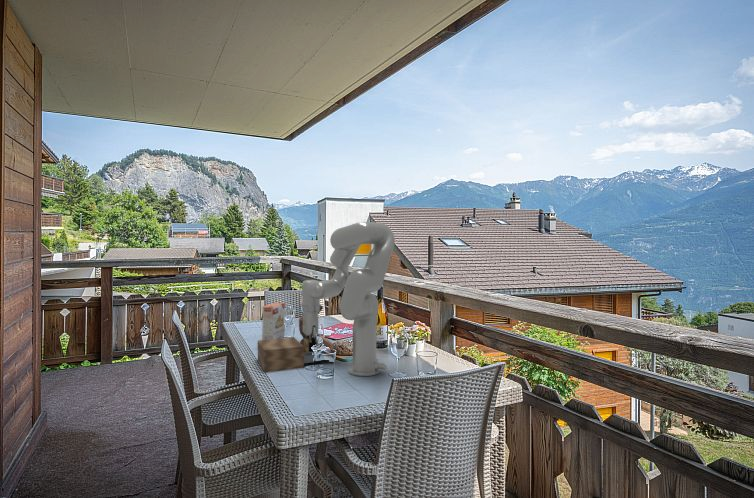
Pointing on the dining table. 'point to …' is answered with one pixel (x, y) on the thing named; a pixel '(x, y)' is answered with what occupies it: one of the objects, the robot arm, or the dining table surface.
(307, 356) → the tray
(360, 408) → the dining table surface
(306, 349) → the block
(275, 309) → the cracker box
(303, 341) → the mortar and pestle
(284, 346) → the brown box
